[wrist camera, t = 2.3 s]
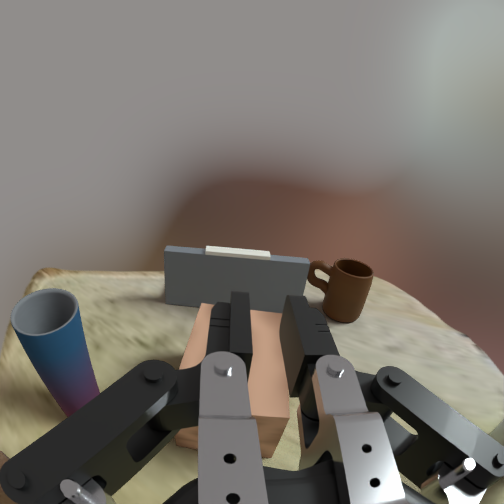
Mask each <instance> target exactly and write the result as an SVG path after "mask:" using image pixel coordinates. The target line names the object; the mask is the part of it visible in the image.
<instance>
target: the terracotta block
mask: <svg viewBox="0 0 504 504" xmlns="http://www.w3.org/2000/svg"><path fill="white" fill-rule="evenodd" d="M213 306H214V305H212V304H206V303H201V306H200V309H199V312H198V314H197V317H196V320H195V323H194V326H193V329H192V332H191V335H190V338H189V341H188V344H187V346H186V349H185V352H184V355H183V358H182V361H181V364H180V367H179V370H180V369H187V368H191V367H194V366H196V365H197V364H199V363H200V362H201V361H202V360H203V359H204V357H205V354H206V348H207V339H208V331H209V323H210V315H211V309H212V307H213ZM250 314H251V329H252V345H253V357H252V362H251V368H250V374H249V379H248V391H249V399H250V408H251V414H252V417H255V419H256V423H257V429H258V436H259V443H260V450H261V457H265V458H272V455H273V453H274V451H275V449H276V447H277V445H278V443H279V441H280V438H281V436H282V434H283V432H284V429H285V427H286V425H287V423H288V420H289V418H290V416H289V394H288V383H287V377H286V372H285V366H284V360H283V355H282V349H281V343H280V338H279V329H280V322H281V318H282V313H274V312H265V311H257V310H250ZM175 440H176V445H177V446H182V447H187V448H192V449H197V450H198V426H196V427H190V428H184V429H180V431H179V432H178V433H177V434H176V435H175Z"/></svg>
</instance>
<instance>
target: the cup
mask: <svg viewBox="0 0 504 504" xmlns="http://www.w3.org/2000/svg"><path fill="white" fill-rule="evenodd" d="M11 323H12V326H13V328H14V330H15V332H16V334H17V336H18V338H19V340H20V342H21V344H22V346H23V348H24V350H25V352H26V354H27V355H28V357H29V359H30V361H31V362H32V364H33V366H34V368H35V369H36V371H37V373H38V374H39V376H40V377H41V379H42V381H43V382H44V384H45V385H46V387H47V388H48V390H49V391H50V393H51V394H52V396H53V397H54V399H55V400H56V402H57V403H58V404H59V406H60V407H61V409H62V410H63V411H64V413H65V414H66V415H67V417H69V416H71V415H72V414H73V413H75V412H76V411H77V410H79V409H80V408H81V407H83V406H84V405H85V404H87V403H88V402H89V401H91V400H92V399H93V398H95V397H96V396H97V395H99V394H100V392H99V389H98V385H97V382H96V379H95V375H94V372H93V368H92V365H91V361H90V357H89V353H88V349H87V345H86V341H85V336H84V332H83V327H82V322H81V317H80V311H79V306H78V302H77V299H76V298H75V296H74V295H73V294H71V293H70V292H68V291H66V290H62V289H55V288H52V289H43V290H39V291H36V292H33V293H31V294H29V295H27V296H25V297H24V298H22V299H21V300H20V301H19V302H18V303H17V304H16V305H15V307H14V308H13V310H12V313H11Z"/></svg>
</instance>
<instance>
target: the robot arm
mask: <svg viewBox="0 0 504 504" xmlns="http://www.w3.org/2000/svg"><path fill="white" fill-rule="evenodd" d="M279 338H280V343H281V349H282V355H283V360H284V366H285V372H286V377H287V383H288V389H289V395H290V397H299V401H300V404H299V407H298V409H297V418H298V427H299V437H300V446H301V458H300V462H299V471H288V470H282V469H276V468H271V467H265V466H263V464H262V457H261V450H260V443H259V436H258V429H257V423H256V419H255V417H252V414H251V408H250V399H249V391H248V379H249V374H250V368H251V362H252V357H253V345H252V329H251V314H250V298H249V292H241V291H231V298H230V303H227V302H217V303H216V304H215V305H214V306H213V307H212V309H211V315H210V323H209V331H208V339H207V348H206V354H205V357H204V359H203V360H202V361H201V362H200V363H199V364H197V365H196V366H194V367H191V368H187V369H180V370H174V368H173V367H172V366H171V365H170V364H168V363H166V362H164V361H160V360H148V361H144V362H142V363H140V364H138V365H137V366H136V367H134V368H133V369H132V370H131V371H129V372H128V373H127V374H125V375H124V376H123V377H121V378H120V379H119V380H117V381H116V382H115V383H113V384H112V385H111V386H109V387H108V388H107V389H105V390H104V391H103V392H101V393H100V394H99V395H97V396H96V397H95V398H93V399H92V400H91V401H89V402H88V403H87V404H85V405H84V406H83V407H81V408H80V409H79V410H77V411H76V412H75V413H73V414H72V415H71V416H69V417H68V418H66V419H65V420H64V421H62V422H61V423H60V424H58V425H57V426H55V427H54V428H53V429H51V430H50V431H49V432H47V433H46V434H44V435H43V436H42V437H40V438H39V439H37V440H36V441H35V442H33V443H32V444H31V445H29V446H28V447H26V448H25V449H23V450H22V451H21V452H19V453H18V454H16V455H15V456H14V457H12V458H11V459H9V460H8V461H6V462H5V463H4V464H3V466H2V467H1V470H0V484H1V487H2V489H3V491H4V493H5V494H6V495H7V496H8V497H9V498H10V499H11V500H12V501H14V502H16V503H17V504H116V503H115V501H114V499H113V498H112V497H111V496H112V495H113V494H115V493H116V492H117V491H118V490H119V489H120V488H121V487H122V486H123V485H125V484H126V483H127V482H128V481H129V480H130V479H131V478H132V477H133V476H134V475H135V474H136V473H137V472H139V471H140V470H141V469H142V468H143V467H144V466H145V465H146V464H147V463H148V462H149V461H150V460H151V459H152V458H153V457H154V456H155V455H156V454H157V453H158V452H159V451H160V450H161V449H162V448H163V447H164V446H165V445H166V444H167V443H168V442H169V441H170V440H171V439H172V438H173V437H174V436H175V435H176V434H177V433H178V432H179V431H180V429H184V428H190V427H196V426H198V478H196V479H194V480H192V481H190V482H189V483H187V484H186V485H184V486H183V487H181V488H180V489H179V490H178V491H177V492H176V493H174V494H173V495H172V496H171V497H170V498H169V499H167V500H166V501H165V502H164V503H163V504H479V502H480V500H481V499H482V497H483V495H484V493H485V491H486V489H487V488H488V487H489V486H491V485H492V484H494V483H495V482H497V481H498V480H499V479H501V478H502V477H503V476H504V419H503V420H502V421H501V422H500V423H499V425H498V426H497V427H496V428H495V429H494V430H493V431H492V432H491V433H490V434H489V435H488V434H486V433H485V432H484V431H482V430H481V429H480V428H478V427H477V426H476V425H474V424H473V423H472V422H470V421H469V420H468V419H466V418H465V417H464V416H462V415H461V414H460V413H458V412H457V411H456V410H454V409H453V408H452V407H450V406H449V405H448V404H446V403H445V402H444V401H442V400H441V399H440V398H438V397H437V396H436V395H434V394H433V393H432V392H430V391H429V390H428V389H426V388H425V387H424V386H423V385H421V384H420V383H419V382H417V381H416V380H415V379H413V378H412V377H411V376H409V375H408V374H407V373H405V372H404V371H403V370H401V369H399V368H397V367H393V366H386V367H383V368H381V369H380V370H379V371H378V372H377V374H376V375H372V374H367V373H362V372H358V371H355V370H354V367H353V365H352V364H351V363H350V362H349V361H348V360H347V359H345V358H343V357H341V356H340V355H339V353H338V350H337V347H336V345H335V342H334V340H333V337H332V335H331V333H330V330H329V327H328V326H327V322H326V320H325V317H324V315H323V314H322V313H321V312H320V311H319V310H318V309H317V308H310V307H309V305H308V302H307V299H306V297H305V296H298V295H287V296H286V299H285V304H284V309H283V313H282V318H281V322H280V329H279ZM393 412H394V413H395V414H397V415H398V416H399V417H400V418H401V419H403V420H404V421H405V422H406V423H408V424H409V425H410V426H411V427H413V428H414V429H415V430H416V431H417V433H418V435H413V434H411V433H409V432H408V431H407V430H406V429H405V428H403V427H402V426H401V425H400V424H398V423H397V422H396V421H395V420H394V419H392V418H391V417H390V415H391V414H392V413H393ZM398 471H399V472H401V473H402V474H403V475H404V476H405V477H407V478H408V479H409V480H410V481H411V482H413V483H414V484H415V485H416V486H418V487H419V488H420V489H421V492H419V493H418V492H417V491H415V490H413V489H412V488H410V487H409V486H407V485H406V484H404V483H403V482H402V481H401V480H400V476H399V473H398Z"/></svg>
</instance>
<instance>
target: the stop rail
mask: <svg viewBox="0 0 504 504" xmlns="http://www.w3.org/2000/svg"><path fill="white" fill-rule="evenodd" d="M309 267H310V262H309V260H308V258H299V257H287V256H276V255H270V252H269V251H259V250H247V249H236V248H226V247H214V246H207V247H206V249H198V248H187V247H176V246H167V247H166V248H165V250H164V269H165V270H164V271H165V297H166V304H172V305H181V306H191V307H200V306H201V303H206V304H212V305H215V304H216V303H217V302H227V303H230V298H231V291H241V292H249V298H250V310H257V311H265V312H274V313H283V309H284V304H285V299H286V296H287V295H298V296H303V293H304V289H305V284H306V280H307V276H308V272H309Z"/></svg>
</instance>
